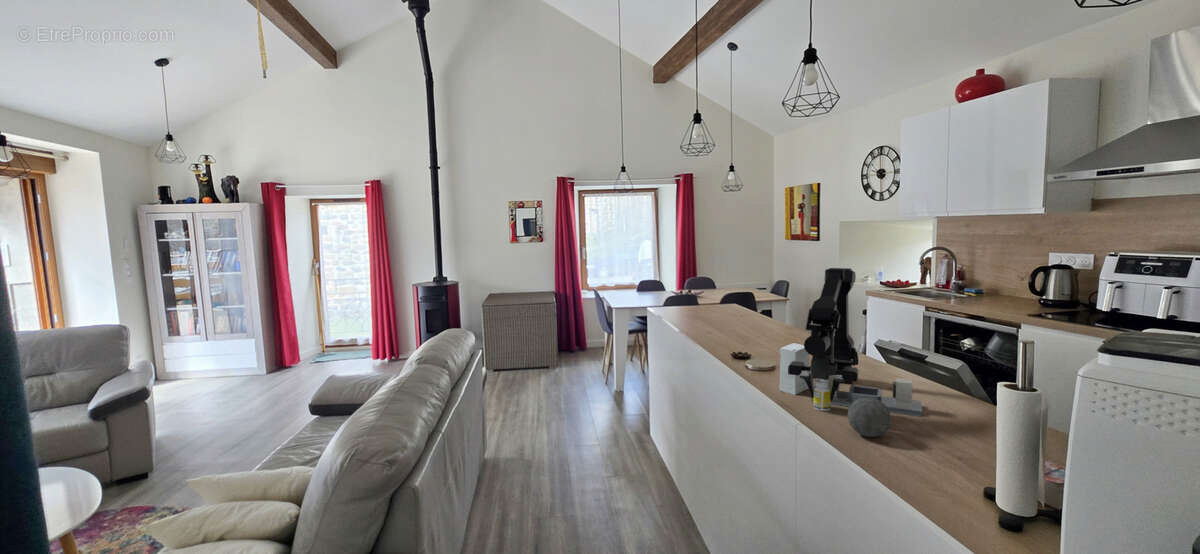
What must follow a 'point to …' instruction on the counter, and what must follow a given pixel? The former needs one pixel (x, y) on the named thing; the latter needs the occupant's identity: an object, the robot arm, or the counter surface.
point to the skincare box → (787, 355)
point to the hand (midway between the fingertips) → (822, 399)
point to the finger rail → (881, 397)
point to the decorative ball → (869, 417)
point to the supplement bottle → (822, 395)
